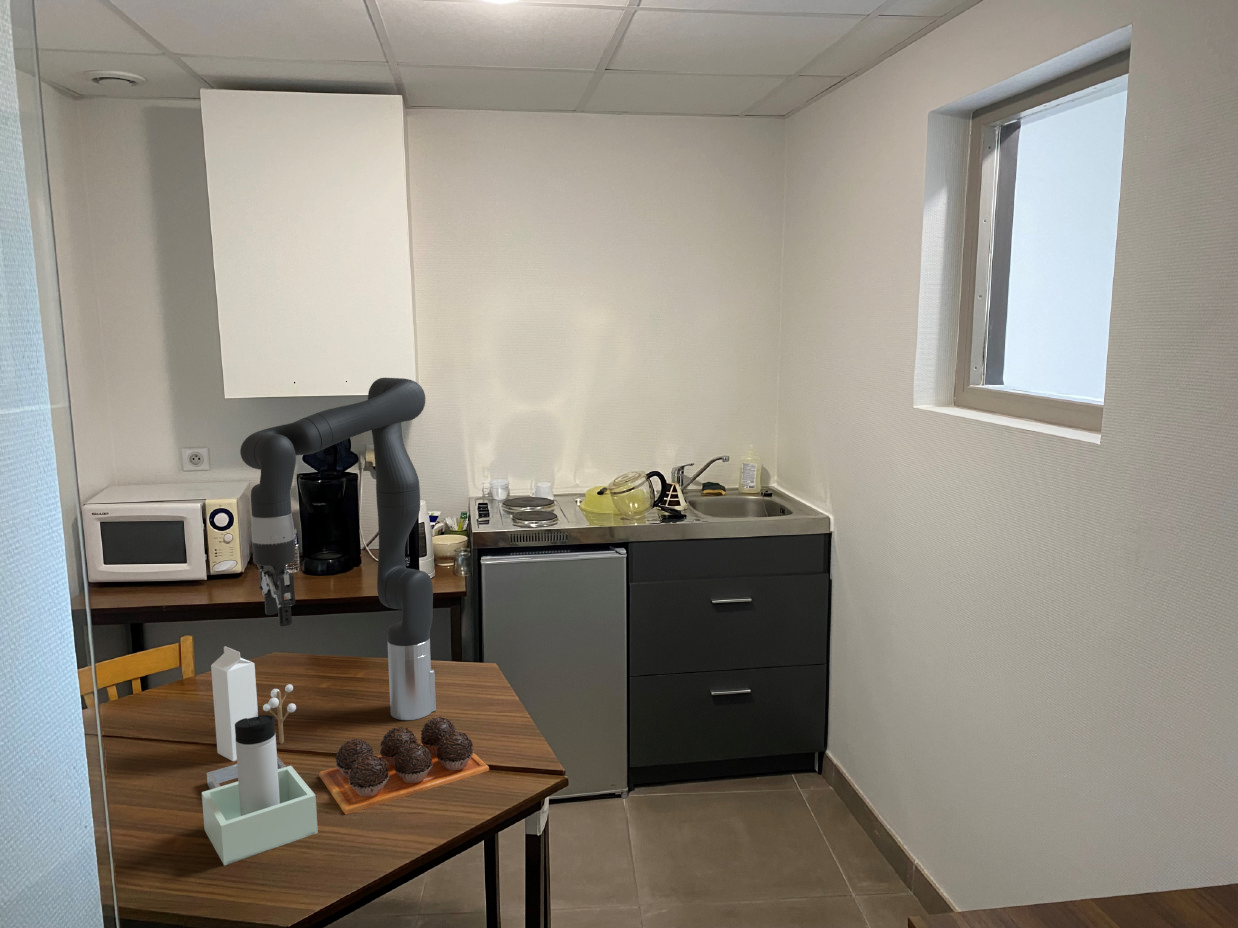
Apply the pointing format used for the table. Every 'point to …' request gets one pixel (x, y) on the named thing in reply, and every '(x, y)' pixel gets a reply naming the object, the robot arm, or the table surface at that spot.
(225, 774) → the collar
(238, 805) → the bin
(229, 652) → the milk
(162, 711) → the table surface
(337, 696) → the table surface
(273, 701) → the cotton branch
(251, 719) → the travel mug
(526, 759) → the table surface
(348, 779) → the chocolate truffle
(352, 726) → the table surface
